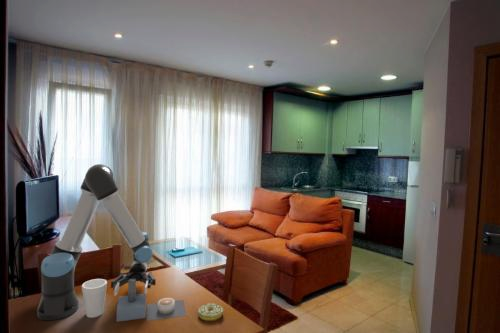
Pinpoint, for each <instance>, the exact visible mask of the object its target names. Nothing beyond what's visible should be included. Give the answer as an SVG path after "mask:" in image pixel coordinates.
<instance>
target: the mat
mask: <svg viewBox="0 0 500 333" xmlns="http://www.w3.org/2000/svg"><path fill="white" fill-rule="evenodd" d="M174 301H175V304H174V311H173V312H171V313H168V314H161V313H159V312H158V302H153V303H146V321H147V322H148V321H157V320H164V319H165V320H166V319H171V318H172V319H173V318H178V317H179V318H180V317H187V312H186V306H185V301H184V299H180V300H179V299H177V300H174Z"/></svg>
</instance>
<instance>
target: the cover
mask: <svg viewBox="0 0 500 333" xmlns="http://www.w3.org/2000/svg"><path fill="white" fill-rule="evenodd" d="M127 284H128V285H127V286H128V287H127V289H128V295H120V296H119V297H118V302H117V306H116V322H117V323H118V322H125V321H131V320H139V319H146V316H147V294H145V293H138V294H137V281H136V279H129V280H128V283H127Z"/></svg>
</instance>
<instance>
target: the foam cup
mask: <svg viewBox="0 0 500 333" xmlns="http://www.w3.org/2000/svg"><path fill="white" fill-rule="evenodd" d="M107 288H108V281H107V279H103V278H95V279H94V278H93V279H90V280H87V281H85V282H83V283H82V284H81V292H82V296H83V304H84V309H85V310H84V311H85V315H86V317H87V318H93V319H94V318H98V317H99V316H102V314H103V313H104V308H105V302H106V301H105V299H106V294H107Z"/></svg>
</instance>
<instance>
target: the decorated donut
mask: <svg viewBox="0 0 500 333" xmlns="http://www.w3.org/2000/svg"><path fill="white" fill-rule="evenodd" d="M197 311H198V312H197V313H198V314H197V315H198V316H199V318H200V319H201V320H203V321H205V322H215V321H218V320H219V319H220V318H221V317H222V316H223V313H224V308H223V307H222V306H221V305H219V304H217V303H211V302H208V303H205V304H203V305H201V306H200V307H199V308H198V310H197Z"/></svg>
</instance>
